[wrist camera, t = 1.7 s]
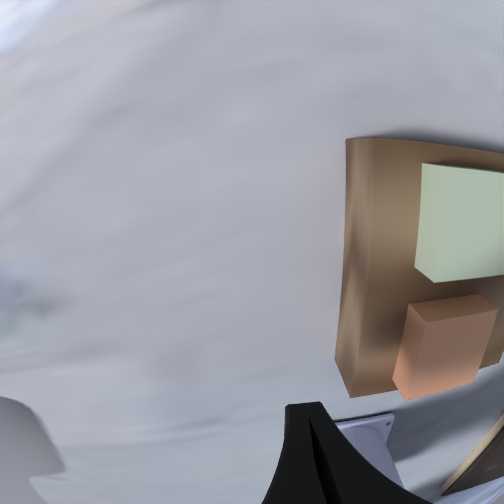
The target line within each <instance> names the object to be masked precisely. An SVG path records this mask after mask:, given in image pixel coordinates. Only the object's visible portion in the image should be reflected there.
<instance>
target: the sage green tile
mask: <svg viewBox="0 0 504 504" xmlns="http://www.w3.org/2000/svg"><path fill="white" fill-rule="evenodd" d="M414 267H415V268H416V269H418V270H419V271H420V272H421V273H423V274H424V275H425V276H427V277H428V278H429V279H430V280H432V281H433V282H434V283H436V282H445V281H454V280H463V279H472V278H480V277H488V276H496V275H504V173H503V172H498V171H492V170H485V169H477V168H468V167H459V166H449V165H439V164H427V163H422V180H421V201H420V216H419V228H418V239H417V248H416V257H415V265H414Z"/></svg>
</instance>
